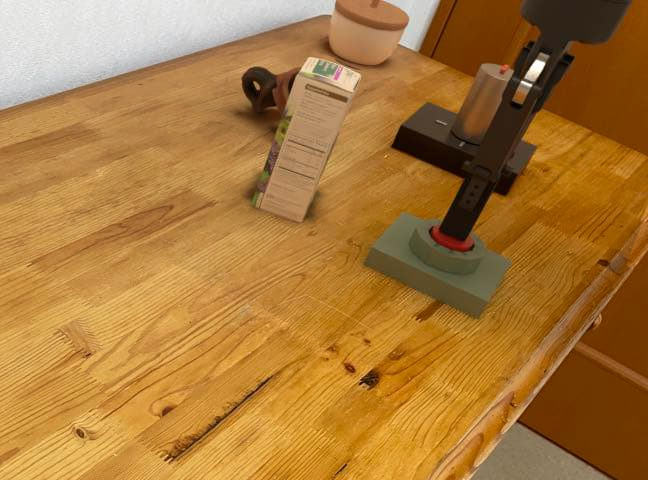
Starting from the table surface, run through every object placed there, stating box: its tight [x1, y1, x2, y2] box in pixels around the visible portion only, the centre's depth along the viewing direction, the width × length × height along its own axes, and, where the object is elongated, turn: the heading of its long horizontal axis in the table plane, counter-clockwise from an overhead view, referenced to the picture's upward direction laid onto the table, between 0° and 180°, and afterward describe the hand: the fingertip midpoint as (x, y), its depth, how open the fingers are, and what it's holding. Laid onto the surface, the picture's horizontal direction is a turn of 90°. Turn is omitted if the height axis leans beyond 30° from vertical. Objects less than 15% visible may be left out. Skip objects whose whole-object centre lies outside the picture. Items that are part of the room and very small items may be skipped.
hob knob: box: [451, 62, 514, 145], centre depth 103 cm, size 5×5×8 cm
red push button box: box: [363, 210, 514, 320], centre depth 84 cm, size 12×10×4 cm
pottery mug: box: [241, 66, 303, 136], centre depth 103 cm, size 12×10×8 cm
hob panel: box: [391, 101, 539, 197], centre depth 107 cm, size 15×11×3 cm
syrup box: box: [250, 56, 363, 224], centre depth 85 cm, size 6×6×14 cm
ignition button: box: [430, 224, 473, 252], centre depth 83 cm, size 4×4×2 cm
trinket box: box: [328, 0, 410, 71], centre depth 123 cm, size 11×11×9 cm
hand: (453, 232), depth 83 cm, fingers closed
